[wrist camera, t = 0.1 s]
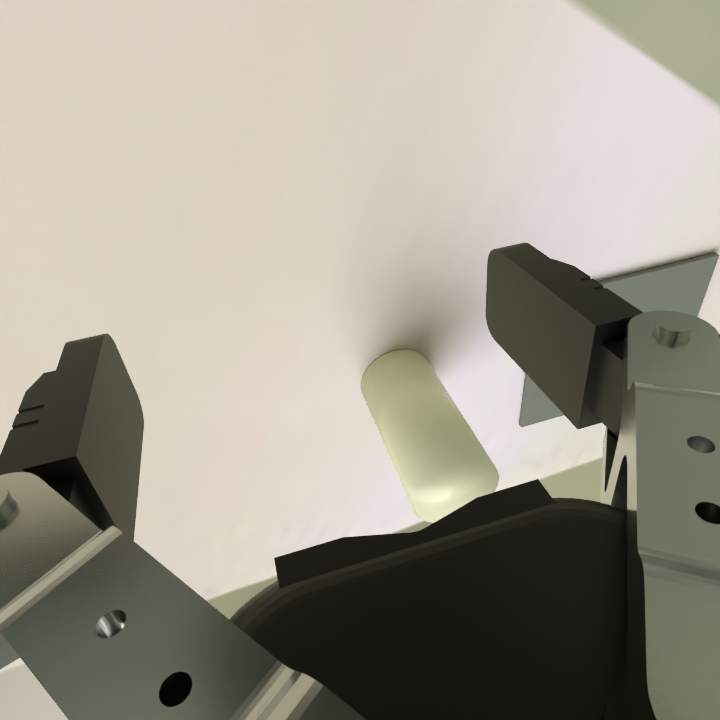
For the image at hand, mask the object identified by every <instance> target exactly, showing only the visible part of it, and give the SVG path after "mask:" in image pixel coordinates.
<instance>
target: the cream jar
mask: <svg viewBox="0 0 720 720" xmlns="http://www.w3.org/2000/svg"><path fill="white" fill-rule="evenodd" d="M361 391H362V394H363V397H364V399H365V401H366V403H367V406H368V408H369V410H370V412H371V415H372V417H373V419H374V422H375V424H376V426H377V428H378V431H379V433H380V435H381V437H382V440H383V442H384V444H385V446H386V449H387V451H388V453H389V456H390V458H391V460H392V462H393V465H394V467H395V469H396V471H397V474H398V476H399V478H400V481H401V483H402V485H403V487H404V490H405V492H406V494H407V496H408V499H409V501H410V503H411V506H412V508H413V510H414V512H415V514H416V515H417V516H418V517H419V518H420V519H422V520H424V521H427V522H433V523H435V522H436V521H438V520H440V519H441V518H443V517H445V516H447V515H448V514H450V513H452V512H453V511H455V510H457V509H458V508H460V507H462V506H464V505H465V504H467V503H469V502H470V501H472V500H474V499H475V498H477V497H480V496H484V495H487V494H490V493H494V491H495V489H496V488H497V485H498V481H499V475H498V471H497V469H496V467H495V466H494V464H493V463H492V461H491V460H490V458H489V456H488V455H487V453H486V452H485V450H484V448H483V447H482V445H481V444H480V442H479V441H478V439H477V437H476V436H475V434H474V433H473V431H472V430H471V428H470V426H469V425H468V423H467V422H466V420H465V419H464V417H463V415H462V414H461V412H460V411H459V409H458V408H457V406H456V404H455V403H454V401H453V400H452V398H451V397H450V395H449V393H448V392H447V390H446V389H445V387H444V386H443V384H442V382H441V381H440V379H439V378H438V376H437V374H436V373H435V371H434V370H433V368H432V367H431V365H430V363H429V362H428V360H427V359H426V358H425V357H424V356H423V355H422V354H421V353H419V352H417V351H413V350H408V349H402V350H395V351H391V352H388V353H386V354H384V355H382V356H380V357H379V358H377V359H376V360H375V361H374V362H372V363H371V365H370V366H369V367H368V368H367V369H366V371H365V373H364V375H363V377H362V380H361Z"/></svg>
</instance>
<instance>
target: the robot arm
mask: <svg viewBox="0 0 720 720" xmlns="http://www.w3.org/2000/svg"><path fill="white" fill-rule="evenodd" d="M486 320H487V325H488V328H489V331H490V333H491V335H492V337H493V338H494V340H495V341H496V342H497V343H498V344H499V345H500V346H501V347H502V348H503V349H504V350H505V352H506V353H507V354H508V355H509V356H510V357H511V358H512V359H513V360H514V361H515V362H516V363H517V364H518V366H519V367H520V368H521V369H522V370H523V371H524V372H525V373H526V374H527V375H528V376H529V377H530V378H531V380H532V381H533V382H534V383H535V384H536V385H537V386H538V387H539V388H540V389H541V390H542V391H543V392H544V393H545V395H546V396H547V397H548V398H549V399H550V400H551V401H552V402H553V403H554V404H555V405H556V406H557V407H558V409H559V410H560V411H561V412H562V413H563V414H564V415H565V416H566V417H567V418H568V419H569V420H570V421H571V423H572V424H573V425H574V426H575V427H576V428H577V429H581V428H584V427H588V426H591V425H595V424H598V423H603V424H604V425H605V426H606V431H605V436H604V441H603V459H602V478H601V479H602V480H601V497H600V502H595V501H590V500H582V499H574V498H551V496H550V495H549V493H548V492H547V491H546V490H545V488H544V487H543V486H542V484H541V483H540V481H539V480H538V479H537V480H534V481H531V482H527V483H524V484H521V485H517V486H514V487H510V488H507V489H504V490H500V491H497V492H494V493H490V494H487V495H484V496H480V497H477V498H475V499H474V500H472V501H470V502H469V503H467V504H465V505H464V506H462V507H460V508H458V509H457V510H455V511H453V512H452V513H450V514H448V515H447V516H445V517H443V518H441V519H440V520H438V521H436V522H435V523H433V524H431V525H430V526H428V527H426V528H424V529H422V530H420V531H417V532H412V533H398V534H384V535H371V536H357V537H343V538H340V539H337V540H333V541H330V542H327V543H323V544H320V545H316V546H313V547H310V548H306V549H303V550H300V551H296V552H293V553H290V554H286V555H283V556H280V557H276V558H274V559H275V565H276V571H277V577H278V581H276V582H275V583H273V584H271V585H269V586H268V587H266V588H265V589H263V590H262V591H261V592H259V593H258V594H256V595H255V596H254V597H252V598H251V599H250V600H249V601H248V602H247V603H245V604H244V605H243V606H242V607H241V608H240V609H239V610H238V611H237V612H236V613H235V614H234V615H233V616H232V617H231V618H230V619H227V618H226V617H225V616H224V615H223V614H222V613H220V612H219V611H218V610H217V609H215V608H214V607H213V606H212V605H211V604H209V603H208V602H207V601H206V600H204V599H203V598H202V597H201V596H200V595H198V594H197V593H196V592H195V591H194V590H192V589H191V588H190V587H189V586H187V585H186V584H185V583H184V582H183V581H181V580H180V579H179V578H178V577H176V576H175V575H174V574H173V573H172V572H170V571H169V570H168V569H167V568H166V567H164V566H163V565H162V564H161V563H159V562H158V561H157V560H156V559H155V558H153V557H152V556H151V555H150V554H148V553H147V552H146V551H145V550H144V549H142V548H141V547H140V546H139V545H137V544H136V543H135V542H134V530H135V518H136V507H137V496H138V485H139V474H140V462H141V451H142V440H143V429H144V419H143V412H142V408H141V404H140V400H139V398H138V395H137V393H136V390H135V388H134V386H133V383H132V381H131V379H130V377H129V374H128V372H127V370H126V367H125V365H124V363H123V361H122V358H121V356H120V354H119V351H118V349H117V347H116V345H115V343H114V341H113V339H112V338H111V336H110V335H109V334H102V335H98V336H93V337H89V338H84V339H79V340H75V341H70V342H67V343H66V344H65V346H64V349H63V352H62V354H61V357H60V360H59V363H58V366H57V369H56V371H52V372H47V373H44V374H43V375H42V376H41V377H40V378H39V379H38V380H37V381H36V382H35V383H34V384H33V385H32V386H31V387H30V388H29V389H28V390H27V391H26V393H25V395H24V398H23V400H22V403H21V405H20V408H19V410H18V411H19V414H17V415H16V418H15V420H14V423H13V425H12V427H13V430H10V433H9V435H8V438H7V440H6V443H5V445H4V448H3V450H2V453H1V455H0V669H1V668H3V667H5V666H6V665H8V664H10V663H11V662H13V661H15V660H17V659H18V658H21V659H22V660H23V661H24V663H25V664H26V665H27V667H28V668H29V669H30V670H31V672H32V673H33V674H34V676H35V677H36V678H37V680H38V681H39V682H40V683H41V685H42V686H43V687H44V688H45V690H46V691H47V692H48V694H49V695H50V696H51V697H52V699H53V700H54V701H55V702H56V704H57V705H58V707H59V708H60V709H61V710H62V712H63V713H64V714H65V716H66V717H67V718H68V719H69V720H720V334H719V333H718V332H717V330H716V329H715V328H714V327H713V326H712V325H711V324H709V323H708V322H706V321H704V320H702V319H700V318H698V317H695V316H692V315H689V314H686V313H681V312H675V311H649V312H645V313H643V312H642V311H640V310H639V309H637V308H636V307H634V306H633V305H631V304H630V303H628V302H627V301H625V300H624V299H622V298H621V297H619V296H618V295H616V294H615V293H613V292H612V291H610V290H609V289H607V288H603V285H602V284H600V283H599V282H597V281H596V280H594V279H590V276H588V275H587V274H585V273H584V272H582V271H581V270H579V269H578V268H576V267H575V266H572V265H569V264H566V263H563V262H560V261H557V260H554V259H550V258H549V257H547V256H546V255H544V254H543V253H541V252H540V251H539V250H537V249H536V248H534V247H533V246H531V245H530V244H528V243H521V244H516V245H512V246H507V247H502V248H498V249H494V250H492V251H491V252H490V254H489V257H488V264H487V293H486Z"/></svg>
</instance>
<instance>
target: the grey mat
mask: <svg viewBox="0 0 720 720" xmlns="http://www.w3.org/2000/svg"><path fill="white" fill-rule="evenodd" d="M718 257H719V255H718V254H716V253H712V254H708V255H704V256H700V257H696V258H692V259H688V260H683V261H679V262H675V263H671V264H667V265H663V266H659V267H655V268H651V269H647V270H643V271H639V272H635V273H631V274H627V275H623V276H619V277H615V278H611V279H607V280H603V281H599V283H600V284H602V285H603V288H607V289H609V290H610V291H612V292H613V293H615V294H616V295H618V296H619V297H621V298H622V299H624V300H625V301H627V302H628V303H630V304H631V305H633V306H634V307H636V308H637V309H639V310H640V311H642V312H643V313H645V312H649V311H675V312H681V313H686V314H689V315H692V316H695V317H697V316H698V313H699V310H700V307H701V305H702V302H703V299H704V296H705V293H706V291H707V288H708V285H709V282H710V280H711V277H712V274H713V271H714V268H715V266H716V263H717V260H718ZM562 415H564V414H563V413H562V412H561V411H560V410H559V409H558V407H557V406H556V405H555V404H554V403H553V402H552V401H551V400H550V399H549V398H548V397H547V396H546V395H545V393H544V392H543V391H542V390H541V389H540V388H539V387H538V386H537V385H536V384H535V383H534V382H533V381H532V380H531V378H530V377H529V376H528V375H527V374H525V381H524V389H523V397H522V405H521V412H520V420H519V425H520V426H521V427H524V426H528V425H531V424H535V423H538V422H542V421H545V420H548V419H552V418H555V417H559V416H562Z"/></svg>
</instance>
